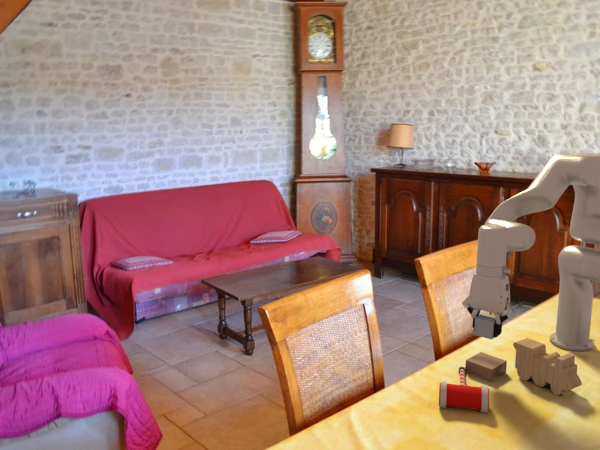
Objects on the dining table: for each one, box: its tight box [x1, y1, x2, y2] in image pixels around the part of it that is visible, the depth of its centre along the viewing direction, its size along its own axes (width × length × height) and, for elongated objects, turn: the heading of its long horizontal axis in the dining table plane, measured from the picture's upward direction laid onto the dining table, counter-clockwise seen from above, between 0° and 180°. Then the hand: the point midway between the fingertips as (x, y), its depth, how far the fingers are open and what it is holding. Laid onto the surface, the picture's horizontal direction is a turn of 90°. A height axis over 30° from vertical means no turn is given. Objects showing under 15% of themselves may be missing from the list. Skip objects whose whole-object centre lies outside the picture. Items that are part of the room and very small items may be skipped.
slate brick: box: [473, 312, 496, 340], centre depth 150 cm, size 5×5×5 cm
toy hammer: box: [438, 366, 490, 414], centre depth 142 cm, size 23×12×6 cm, turn 165°
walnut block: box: [464, 351, 508, 383], centre depth 152 cm, size 8×8×4 cm
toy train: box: [512, 337, 582, 396], centre depth 145 cm, size 6×17×10 cm, turn 32°
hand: (486, 332), depth 150 cm, fingers closed on slate brick, 5 cm apart
